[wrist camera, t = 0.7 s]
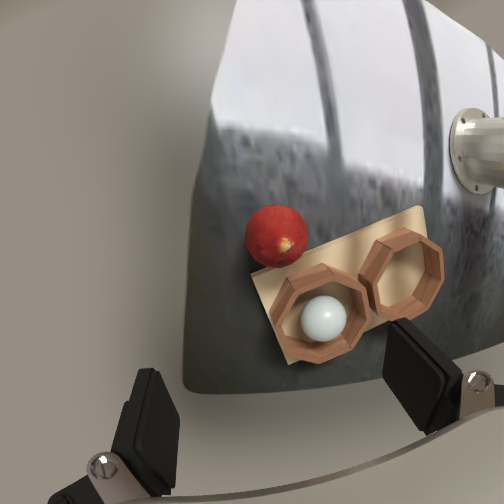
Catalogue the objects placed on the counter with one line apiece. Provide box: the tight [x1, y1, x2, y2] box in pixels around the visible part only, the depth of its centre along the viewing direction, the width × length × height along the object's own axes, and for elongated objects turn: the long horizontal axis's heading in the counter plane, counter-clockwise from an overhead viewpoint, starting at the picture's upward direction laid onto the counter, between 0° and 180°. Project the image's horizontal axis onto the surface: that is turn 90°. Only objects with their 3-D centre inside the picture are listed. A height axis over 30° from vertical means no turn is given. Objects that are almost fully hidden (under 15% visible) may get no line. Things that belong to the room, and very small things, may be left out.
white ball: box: [300, 296, 346, 342], centre depth 30 cm, size 5×5×5 cm
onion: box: [245, 204, 308, 268], centre depth 27 cm, size 6×6×8 cm
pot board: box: [251, 205, 444, 365], centre depth 32 cm, size 22×13×5 cm, turn 111°
